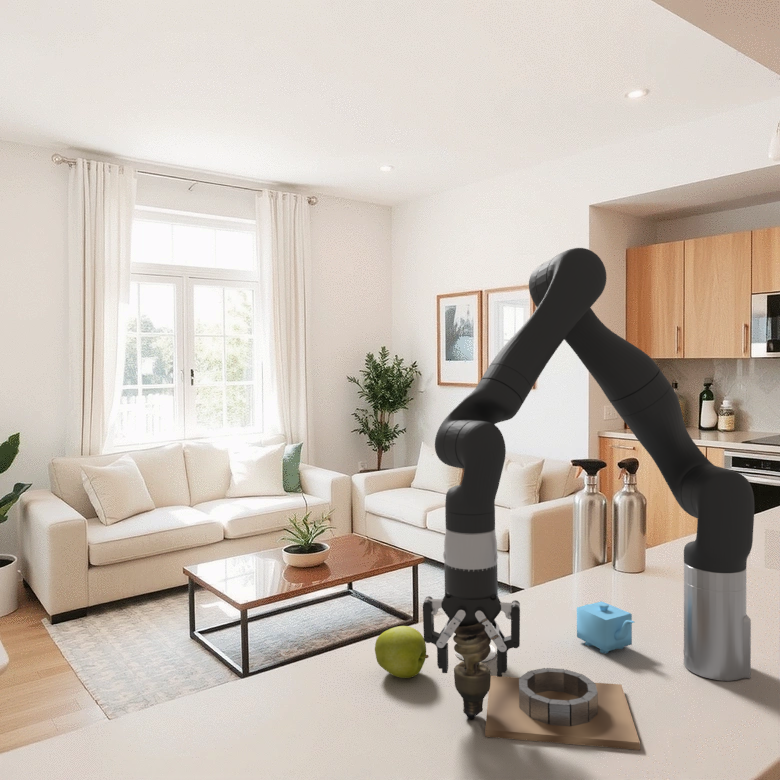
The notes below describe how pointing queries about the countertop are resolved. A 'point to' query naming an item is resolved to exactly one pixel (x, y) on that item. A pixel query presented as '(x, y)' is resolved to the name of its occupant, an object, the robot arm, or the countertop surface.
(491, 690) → the board
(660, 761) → the countertop surface
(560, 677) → the ring seat
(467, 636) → the light bulb
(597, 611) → the teapot
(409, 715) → the countertop surface
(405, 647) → the apple
